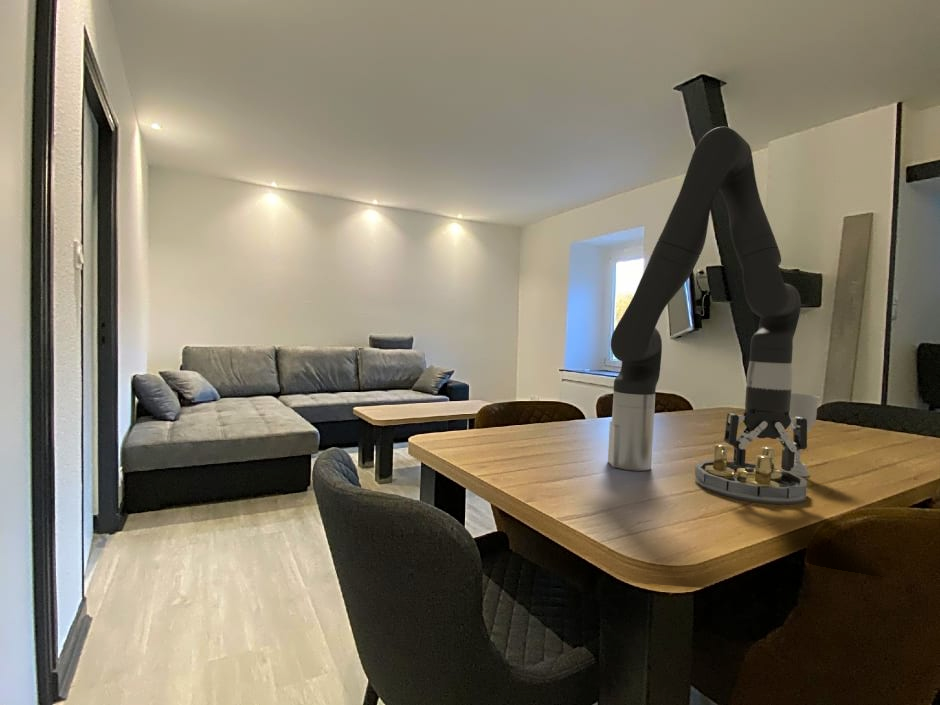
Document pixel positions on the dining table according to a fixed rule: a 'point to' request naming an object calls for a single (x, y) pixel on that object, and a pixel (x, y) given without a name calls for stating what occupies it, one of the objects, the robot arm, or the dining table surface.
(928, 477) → the dining table surface
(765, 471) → the planet gear
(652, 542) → the dining table surface
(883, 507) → the dining table surface
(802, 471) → the chalice
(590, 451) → the dining table surface
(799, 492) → the carrier
